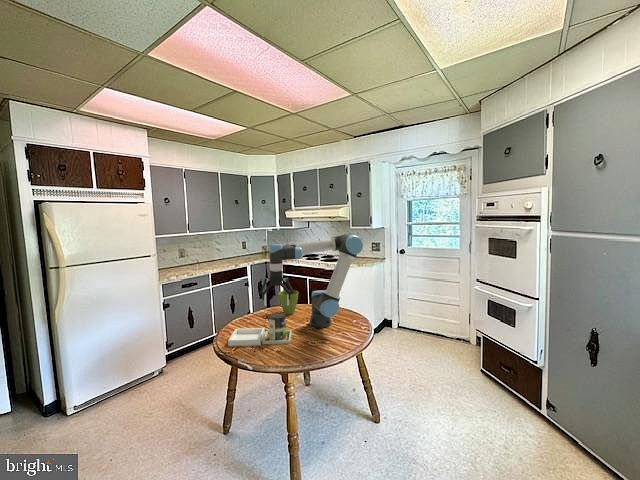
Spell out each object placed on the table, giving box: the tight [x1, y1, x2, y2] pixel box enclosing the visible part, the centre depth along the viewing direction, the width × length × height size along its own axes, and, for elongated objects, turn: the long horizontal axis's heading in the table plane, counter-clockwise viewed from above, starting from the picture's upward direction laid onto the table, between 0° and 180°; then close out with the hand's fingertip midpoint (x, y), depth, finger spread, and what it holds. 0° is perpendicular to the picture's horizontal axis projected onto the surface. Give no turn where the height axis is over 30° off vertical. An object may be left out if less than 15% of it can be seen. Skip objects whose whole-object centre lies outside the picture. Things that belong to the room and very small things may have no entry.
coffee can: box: [268, 312, 287, 341], centre depth 181 cm, size 10×10×14 cm
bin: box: [227, 327, 266, 347], centre depth 179 cm, size 18×18×4 cm
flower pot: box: [278, 289, 299, 315], centre depth 227 cm, size 15×15×16 cm
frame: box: [261, 329, 293, 345], centre depth 181 cm, size 16×16×2 cm
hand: (276, 305), depth 179 cm, fingers open, 13 cm apart
